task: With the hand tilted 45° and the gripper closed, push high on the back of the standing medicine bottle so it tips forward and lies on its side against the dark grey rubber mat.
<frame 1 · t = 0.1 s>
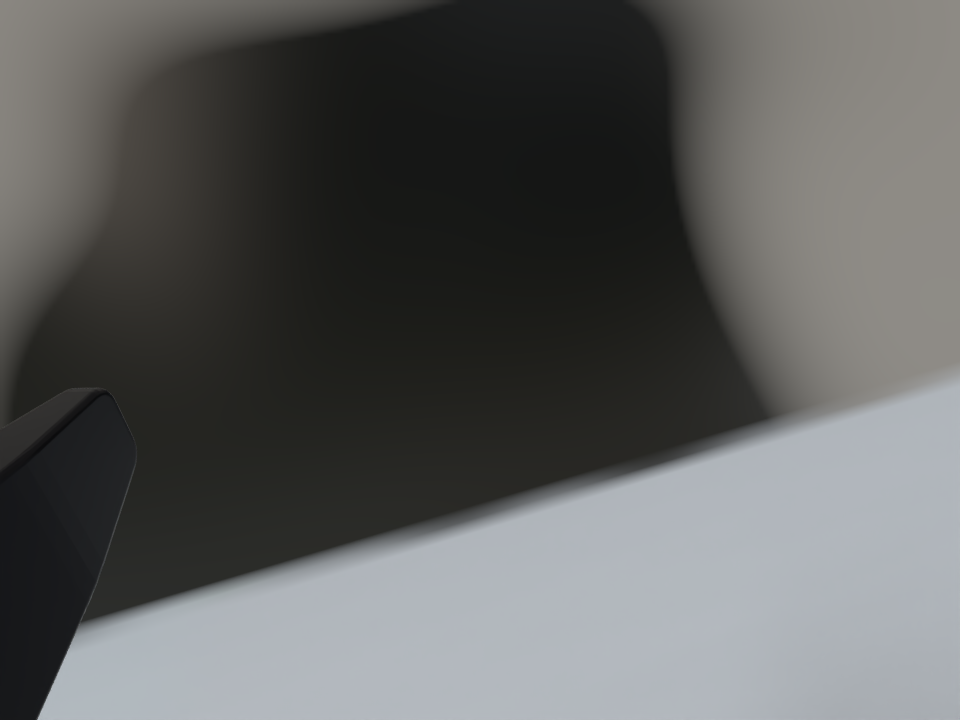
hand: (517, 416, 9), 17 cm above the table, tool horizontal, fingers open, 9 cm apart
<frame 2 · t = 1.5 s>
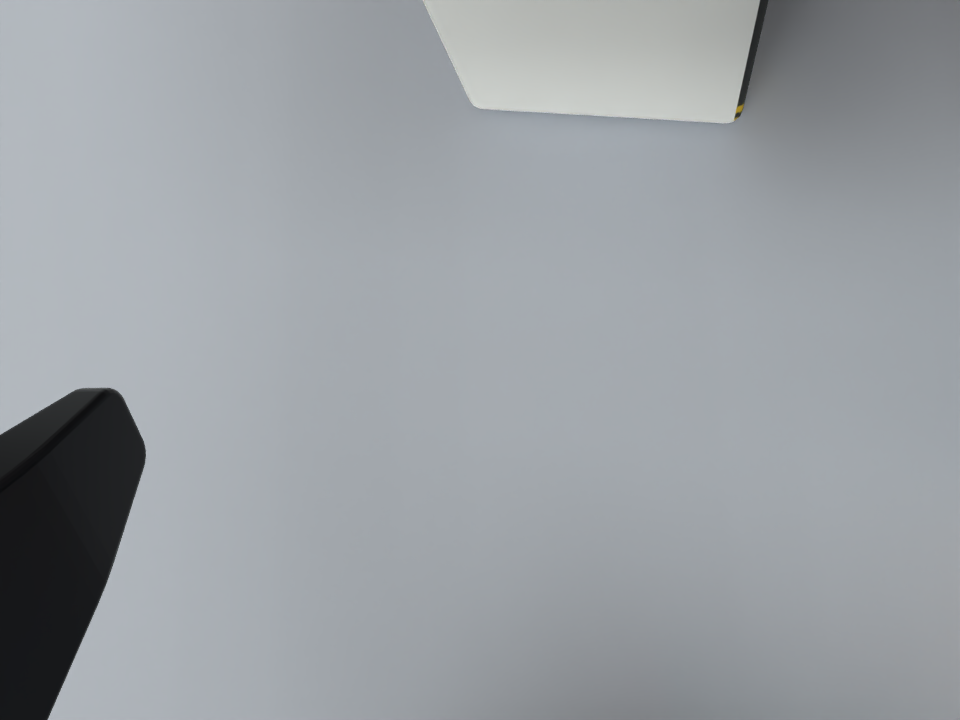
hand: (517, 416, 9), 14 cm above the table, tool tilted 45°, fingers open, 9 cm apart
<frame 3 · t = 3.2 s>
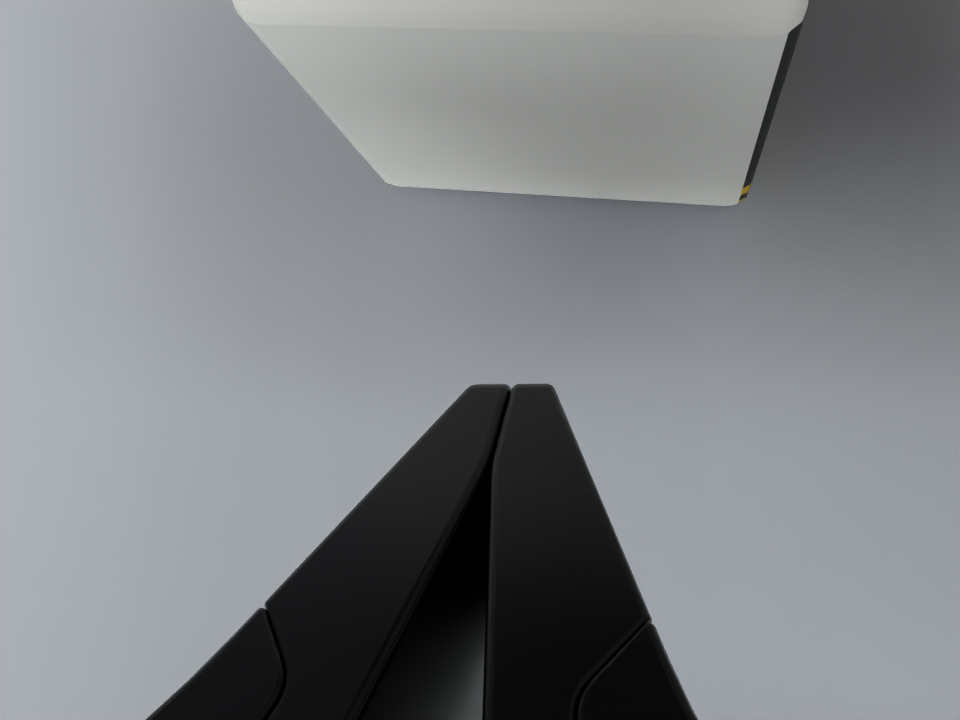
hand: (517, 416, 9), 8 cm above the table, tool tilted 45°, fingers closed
medicine bottle: (577, 33, 18), on the table
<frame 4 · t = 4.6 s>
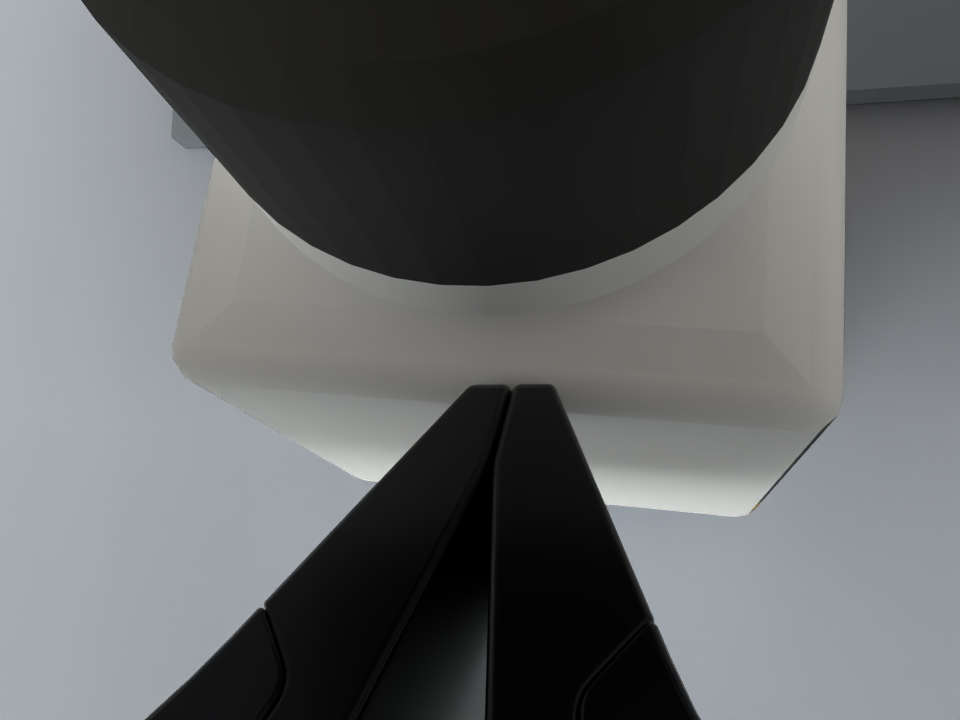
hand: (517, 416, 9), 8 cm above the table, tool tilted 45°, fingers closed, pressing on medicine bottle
medicine bottle: (564, 313, 17), on the table, touching gripper, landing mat
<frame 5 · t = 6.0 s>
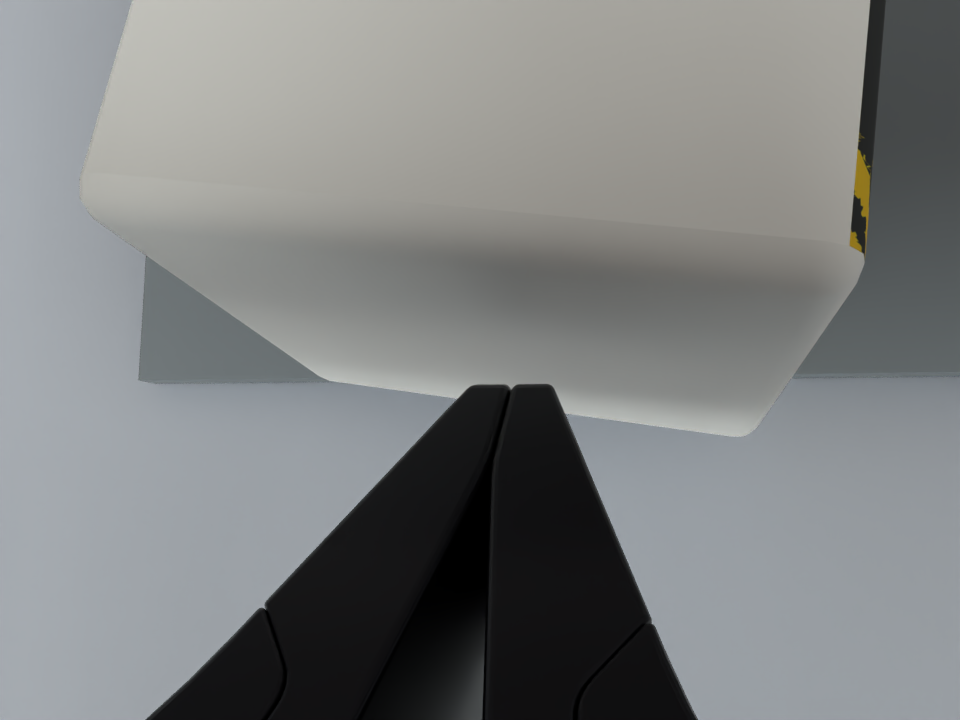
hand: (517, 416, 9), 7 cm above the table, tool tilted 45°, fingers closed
medicine bottle: (486, 370, 11), point 5 cm above the table, touching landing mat
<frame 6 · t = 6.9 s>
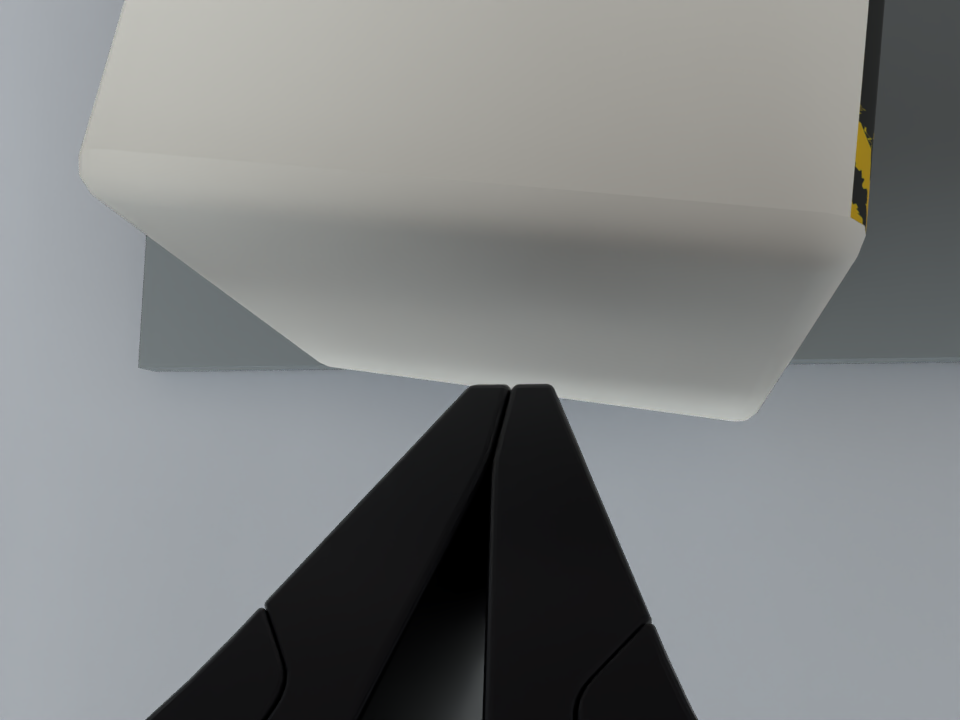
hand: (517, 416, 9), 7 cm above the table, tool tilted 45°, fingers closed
medicine bottle: (487, 351, 11), point 5 cm above the table, touching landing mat
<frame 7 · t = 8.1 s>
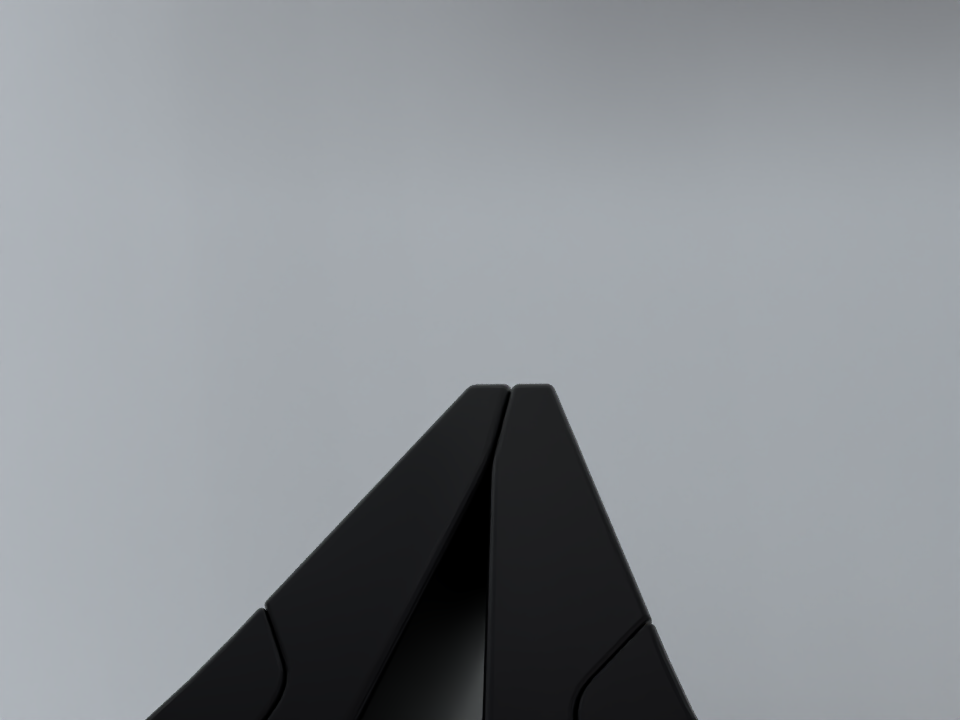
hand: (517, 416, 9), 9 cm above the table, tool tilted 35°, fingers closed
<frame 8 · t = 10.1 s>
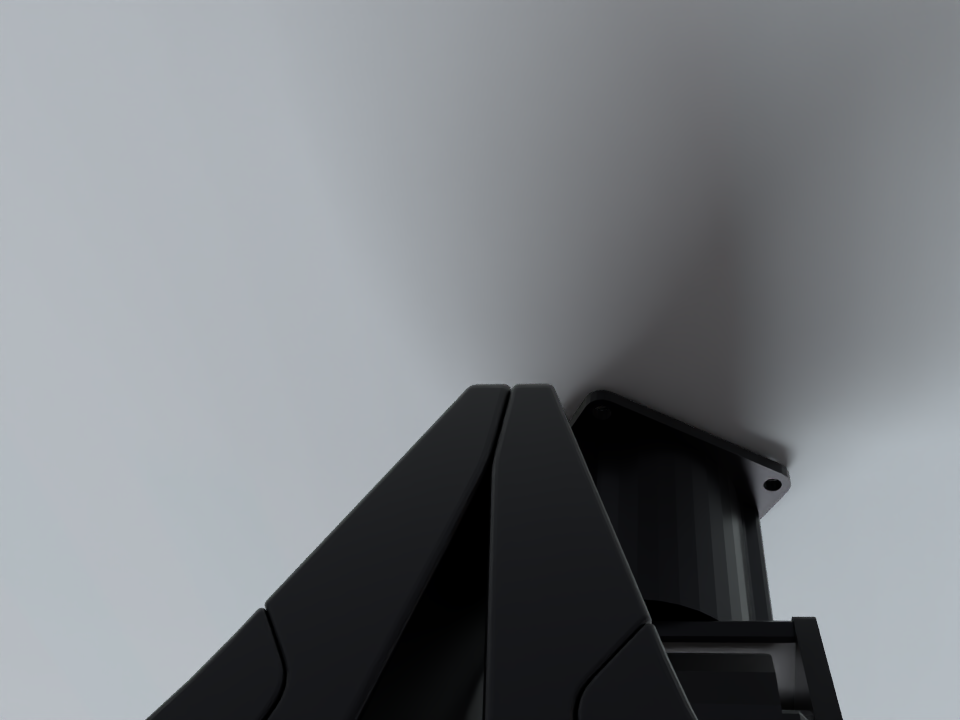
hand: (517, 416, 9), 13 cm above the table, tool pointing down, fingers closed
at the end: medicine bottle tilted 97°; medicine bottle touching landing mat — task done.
